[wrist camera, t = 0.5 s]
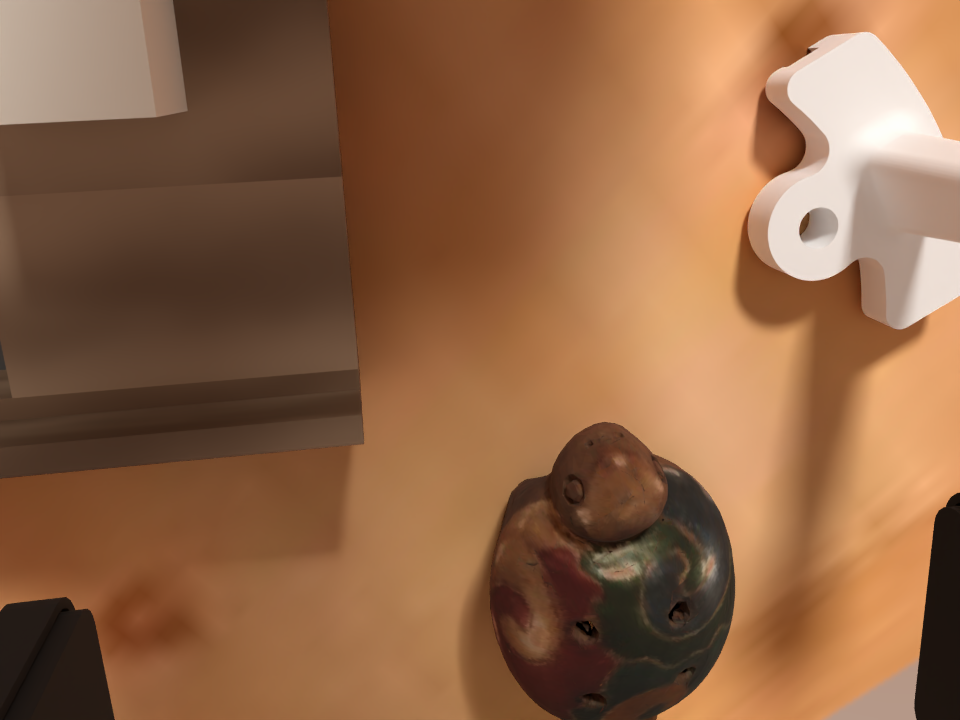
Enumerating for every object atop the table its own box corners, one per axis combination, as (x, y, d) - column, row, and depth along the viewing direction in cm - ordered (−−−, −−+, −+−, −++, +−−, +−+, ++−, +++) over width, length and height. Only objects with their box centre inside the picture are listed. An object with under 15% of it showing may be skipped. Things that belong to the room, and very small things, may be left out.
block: (-18, -63, 26) (-98, -95, 21) (163, -67, 27) (125, -99, 22) (16, 119, 27) (-52, 127, 23) (187, 110, 28) (156, 116, 23)
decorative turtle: (656, 338, 37) (751, 417, 30) (706, 632, 43) (796, 758, 35) (425, 410, 36) (465, 509, 28) (509, 700, 42) (560, 846, 34)
